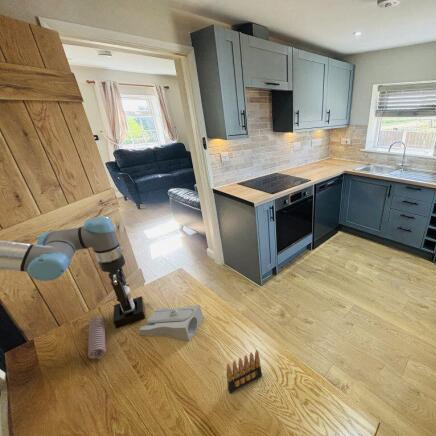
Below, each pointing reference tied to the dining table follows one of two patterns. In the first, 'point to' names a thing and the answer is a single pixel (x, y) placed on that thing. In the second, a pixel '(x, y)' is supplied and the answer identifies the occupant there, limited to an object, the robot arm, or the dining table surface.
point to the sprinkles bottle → (129, 300)
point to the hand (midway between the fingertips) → (127, 305)
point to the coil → (96, 338)
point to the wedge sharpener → (174, 322)
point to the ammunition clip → (241, 378)
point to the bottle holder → (129, 314)
